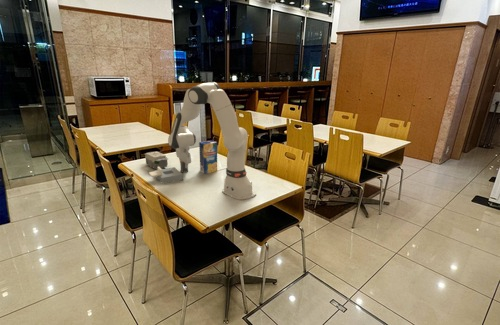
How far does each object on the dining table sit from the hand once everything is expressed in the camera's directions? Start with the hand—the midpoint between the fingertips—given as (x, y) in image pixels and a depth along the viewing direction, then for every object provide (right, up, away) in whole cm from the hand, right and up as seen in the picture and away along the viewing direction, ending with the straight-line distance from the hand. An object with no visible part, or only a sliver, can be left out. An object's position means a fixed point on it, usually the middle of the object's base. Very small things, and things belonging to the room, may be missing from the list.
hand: (183, 165), depth 204 cm
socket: (-8, -8, -12) cm, 16 cm away
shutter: (-15, -5, -18) cm, 24 cm away
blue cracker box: (+18, -4, +4) cm, 19 cm away
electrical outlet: (-23, -1, +10) cm, 26 cm away
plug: (0, -4, +1) cm, 4 cm away
